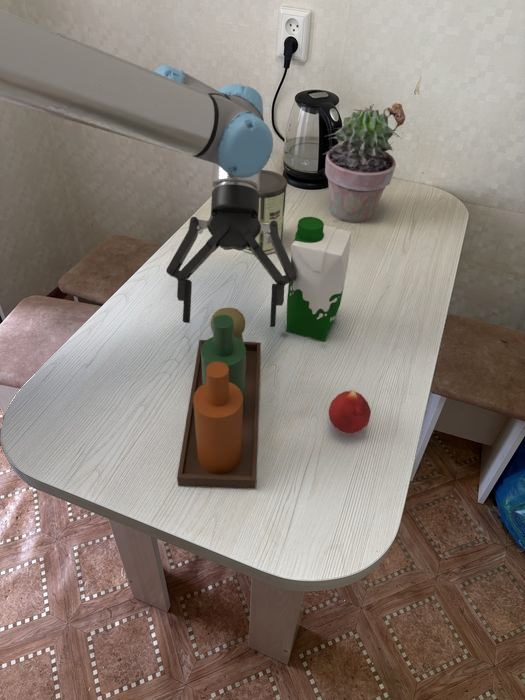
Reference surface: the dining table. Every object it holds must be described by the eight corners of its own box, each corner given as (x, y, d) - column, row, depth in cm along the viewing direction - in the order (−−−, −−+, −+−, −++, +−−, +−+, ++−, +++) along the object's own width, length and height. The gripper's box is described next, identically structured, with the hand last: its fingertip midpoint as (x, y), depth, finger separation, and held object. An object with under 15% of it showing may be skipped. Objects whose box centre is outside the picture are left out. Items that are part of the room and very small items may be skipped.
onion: (368, 419, 76) (379, 383, 70) (361, 449, 72) (372, 413, 66) (330, 409, 77) (338, 372, 71) (321, 438, 73) (329, 402, 67)
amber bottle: (195, 473, 67) (187, 387, 55) (200, 436, 71) (194, 350, 60) (240, 475, 67) (242, 390, 55) (242, 438, 71) (244, 352, 60)
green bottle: (202, 422, 73) (196, 335, 61) (206, 391, 77) (201, 304, 66) (243, 424, 73) (245, 338, 61) (245, 393, 78) (247, 307, 66)
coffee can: (249, 225, 115) (251, 165, 105) (290, 238, 112) (295, 177, 102) (226, 246, 108) (225, 183, 99) (268, 260, 105) (272, 197, 95)
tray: (178, 486, 66) (176, 477, 65) (199, 348, 85) (199, 339, 84) (255, 489, 66) (256, 480, 65) (260, 351, 85) (260, 342, 84)
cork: (225, 386, 78) (225, 333, 71) (201, 365, 81) (198, 312, 74) (254, 368, 81) (257, 316, 74) (230, 348, 85) (230, 296, 77)
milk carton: (293, 304, 95) (303, 207, 81) (340, 316, 93) (359, 218, 79) (279, 334, 89) (288, 233, 75) (329, 346, 87) (347, 246, 73)
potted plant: (294, 201, 124) (304, 93, 107) (363, 190, 130) (383, 85, 113) (329, 238, 112) (347, 123, 95) (402, 224, 118) (431, 113, 101)
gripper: (311, 201, 84) (306, 329, 83) (161, 194, 83) (154, 322, 83) (317, 186, 76) (311, 326, 76) (152, 178, 76) (144, 318, 75)
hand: (229, 324), depth 79 cm, fingers open, 13 cm apart
